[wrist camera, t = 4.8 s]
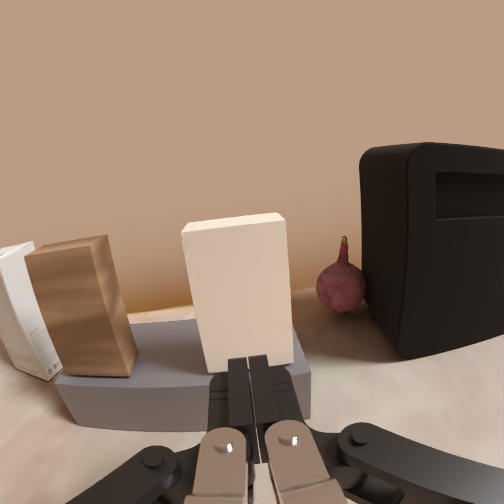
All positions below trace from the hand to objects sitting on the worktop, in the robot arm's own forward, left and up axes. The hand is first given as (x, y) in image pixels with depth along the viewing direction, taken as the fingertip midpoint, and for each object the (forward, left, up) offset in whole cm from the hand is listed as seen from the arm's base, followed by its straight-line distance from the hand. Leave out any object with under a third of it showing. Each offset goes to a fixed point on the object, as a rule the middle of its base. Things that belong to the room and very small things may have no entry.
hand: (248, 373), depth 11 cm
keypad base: (-12, +5, -11) cm, 17 cm away
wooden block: (-6, +7, -6) cm, 11 cm away
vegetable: (-5, +25, -11) cm, 27 cm away
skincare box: (-30, -4, -11) cm, 33 cm away
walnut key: (-15, -1, -6) cm, 16 cm away
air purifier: (+8, +29, -11) cm, 32 cm away
